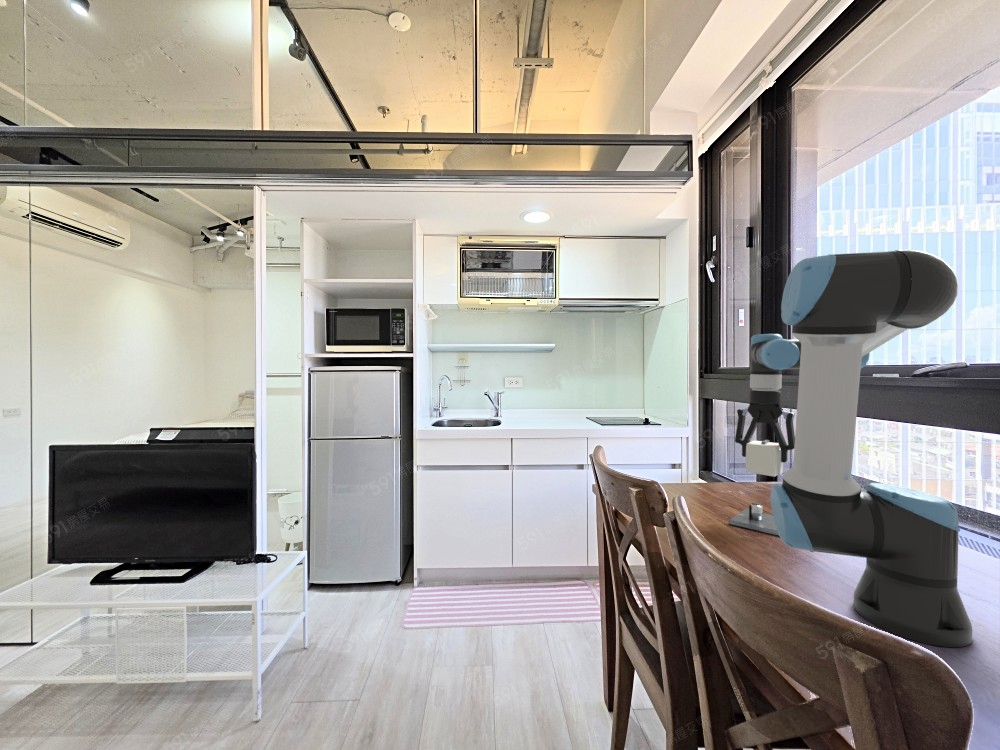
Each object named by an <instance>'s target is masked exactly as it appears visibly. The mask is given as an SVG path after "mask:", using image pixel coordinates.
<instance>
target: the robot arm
mask: <svg viewBox="0 0 1000 750" xmlns="http://www.w3.org/2000/svg"><path fill="white" fill-rule="evenodd" d="M794 265H795V266H794V267H793V268H792V269H791V271H790V273H789V276H788V278H787V280H786V283H785V285H784V289H783V292H782V298H781V304H780V305H781V306H780V310H781V316H780V317H781V321H782V322H783V323H784V324H785V325H788V326H791V327H792V328H791V335H792V336H793V337H795V339H785V338H783V335H782V334H779V333H763V334H762V333H761V334H760V333H759V334H754V335H752V336H751V338H750V346H749V349H750V362H749V363H750V369H749V370H750V372H749V373H750V375H749V388H750V391H749V405H748V407H747V408H738V409H737V410H736V413H737V417H738V418H737V419H738V420H737V424H736V425H737V426H736V432H735V436H734V442H735V443H737V444H739V445H741V447H742V448H741V453H742V454H741V455H742V457H744V458H746V448H747V443H749V442H751V440H752V437H753V435H754V433H755V431H756V429H757V427H758V425H759V424H760V423H761V424H762V423H765V424H770V425H769V426H771V428H772V430H773V432H774V433H773V434H774V435H775V438H776V441H777V443H779V446H780V448H781V449H780V450H778V459H777V474H778V475H779V476H781V475H782V474H783V475H782V484H781V483H776V484H775V483H774V484H772V485H771V488H770V506H771V512H772V515H773V517H774V522H775V525H776V528H777V531H778V534H779V538H780V540H781V541H782V542H783V543H784V544H785V545H786V546H787V547H789V548H792V549H797V550H802V551H808V552H810V553H814V552H816V553H822V554H823V553H824V554H830V555H831V554H833V555H839V556H840V555H841V556H849V557H856V558H863V559H864V558H865V559H866V562H865V563H866V564H865V569H864V570H863V573H862V575H861V577H860V579H859V582H858V583H857V586H856V587H855V590H854V591H853V602H852V603H853V608H854V609H855V611H856V612H857V613H858V614H859V615H860V616H861V617H862V618H864V619H865V620H867V621H868V622H870V623H872V624H873V625H875V626H877V627H878V628H881V629H882V630H885V631H887V632H890V633H892V634H894V635H897V636H900V637H902V638H905V639H909V640H912V641H916V642H919V643H923V644H928V645H931V646H932V645H933V646H937V647H938V646H939V647H943V648H944V647H946V648H947V647H948V648H963V647H966V646H969V645H971V644H972V642H973V625H972V622H971V619H970V617H969V615H968V612H967V610H966V607H965V605H964V602H963V600H962V597H961V594H960V592H959V590H958V575H959V574H958V571H959V569H958V568H959V567H958V566H959V564H958V563H959V532H960V531H961V528H960V523H959V517H958V516H959V515H958V514H959V513H958V509H957V508H956V506H955V505H954V504H953V503H951V502H950V501H949V500H947V499H945V498H943V497H940V496H937V495H935V494H931V493H928V492H924V491H920V490H917V489H914V488H909V487H903V486H899V485H896V484H895V485H894V484H888V483H882V482H869V483H868V484H867V486H866V487H865V490H866V491H862V487H861V484H860V483H859V482H858V481H856V480H855V478H853V477H852V471H853V470H852V469H853V460H854V448H855V436H856V426H857V416H858V415H857V413H858V405H859V404H858V403H859V393H860V392H859V391H860V381H861V380H860V379H861V369H863V368H864V367H866V365H867V363H868V362H869V360H870V356H871V355H870V353H871V352H872V351H875V350H876V349H878V348H880V347H881V346H883V345H885V344H886V343H887V342H889V341H891V340H892V339H894V338H896V337H898V336H899V335H901V334H902V333H904V332H905V331H907V330H914V329H919V328H922V327H925V326H927V325H929V324H931V323H933V322H935V321H936V320H938V319H939V318H940V317H942V316H943V315H945V314H946V313H947V312H948V311H949V310H950V309H951V307H952V306H953V305H954V303H955V301H956V298H957V296H958V291H959V281H958V276H956V273H955V271H954V270H953V268H952V267H951V265H950V264H948V262H946V261H944V259H942V258H940V257H938V256H936V255H934V254H932V253H930V252H929V253H928V252H926V251H922V250H917V249H915V250H913V249H898V250H890V251H875V252H873V251H872V252H854V253H852V252H851V253H838V254H837V253H835V254H833V253H832V254H827V255H819V256H811V257H806V258H803V259H802V260H800V261H798V263H796V264H794ZM783 370H799V372H798V374H799V375H798V391H797V402H796V403H797V404H796V414H795V412H793V411H791V412H790V411H786V410H784V409H783V408H782V407H783V406H782V392H781V389H782V385H783V384H782V381H783V379H782V378H783V373H782V372H783ZM748 414H749V415H750V416H751V418H752V419H751V421H750V425H749V427H748V429H747V431H746V433H745V436H744V430H745V423H746V419H747V418H746V416H748ZM781 416H783V419H784V420H785V428H786V437H787V442H786V439H785V437H784V433H783V432H782V429H781V427H780V422H779V420H778V419H779V418H780V417H781ZM795 416H796V417H795ZM794 418H796V420H795V429H794ZM743 437H744V438H743ZM790 450H793V465H792V468H790V469H788V470H787V471H785V472H784V469H783V468H784V463H787V462H788V455H789V454H788V451H790ZM778 475H777V476H778Z"/></svg>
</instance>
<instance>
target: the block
mask: <svg viewBox="0 0 1000 750" xmlns="http://www.w3.org/2000/svg"><path fill="white" fill-rule="evenodd" d="M780 449H781V448H780V446H779V443H778V442H772V441H771V442H770V439H764V440H752V441H751V440H750V442H749V443H747V448H746V457H745V472H746V473H751V474H756V475H763V476H769V477H776V476H778V474H777V459H778V450H780Z"/></svg>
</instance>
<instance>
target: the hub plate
mask: <svg viewBox="0 0 1000 750" xmlns="http://www.w3.org/2000/svg"><path fill="white" fill-rule="evenodd" d="M729 524H730V525H733V526H737V527H742V528H746V529H750V530H754V531H759V532H762V533H766V534H769V535H770V534H771V535H774V536H779V534H778V531H777V528H776V525H775V522H774V517H773V514H771V513H766V512H765V513H764V512H763V504H761V503H756V502H751V503H750V504H749V505H748V509H747V508H745V509H743V510H741V511H740V512H739V513H737V514H735V516H733V517H732V518H730V519H729ZM779 537H780V536H779Z"/></svg>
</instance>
